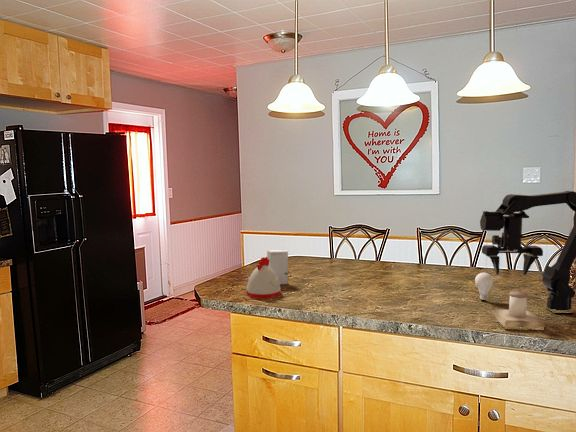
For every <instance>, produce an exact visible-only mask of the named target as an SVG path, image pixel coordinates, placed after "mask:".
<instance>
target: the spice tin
mask: <svg viewBox="0 0 576 432" xmlns="http://www.w3.org/2000/svg"><path fill="white" fill-rule="evenodd" d="M528 295H529V294H528V293H527V292H525V291H516V290H515V291H514V290H512V291H509V303H508V310H509V315H511V316H515V317H526V310H527V308H528V307H527V304H528Z"/></svg>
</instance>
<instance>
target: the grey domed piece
mask: <svg viewBox="0 0 576 432" xmlns="http://www.w3.org/2000/svg"><path fill="white" fill-rule="evenodd" d="M269 261H270V259H268V257H267V256H265V257H260V261H259V260H258V264H256V268H255V269H254V270H253V271H252V272H251V274H250V276H248V277H247V286H246V296H247V297H250V298H252V299H253V298H254V299H270V298H271V299H272V298H277V297H279V296H280V295H281V293H282V290H281V285H280V280H279V278H277V276H276V274H275V273H274V271H273V270H272V269H271V268H270V267H268V265H269Z"/></svg>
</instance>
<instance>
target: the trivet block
mask: <svg viewBox="0 0 576 432" xmlns="http://www.w3.org/2000/svg"><path fill="white" fill-rule="evenodd" d="M490 315H492V316H493V317H495V318H496V319H497V320H498V321H499V322H500V323H501V324H502V325H503V326H505V327H528V326H529V327H533V326H534V327H545V328H546V322H544V320H543V319H541V318H540V317H539V316H538V315H536V314H535V313H533V312H531V311H530V310H529V309H526V317H515V316H511V315H509V309H492V310H491V313H490Z"/></svg>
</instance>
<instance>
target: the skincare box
mask: <svg viewBox="0 0 576 432" xmlns="http://www.w3.org/2000/svg"><path fill="white" fill-rule="evenodd" d="M266 257H268V259H270V261H269V265H268V267H270V268H271V269H272V270H273V271H274V273H275V274H276V276H277V278H279V280H280V286H281V285H288V283H289V282H288V277H289V271H288V270H289V268H288V266H289V262H288V261H289V251H288V250H285V249H270V250H266Z"/></svg>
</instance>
